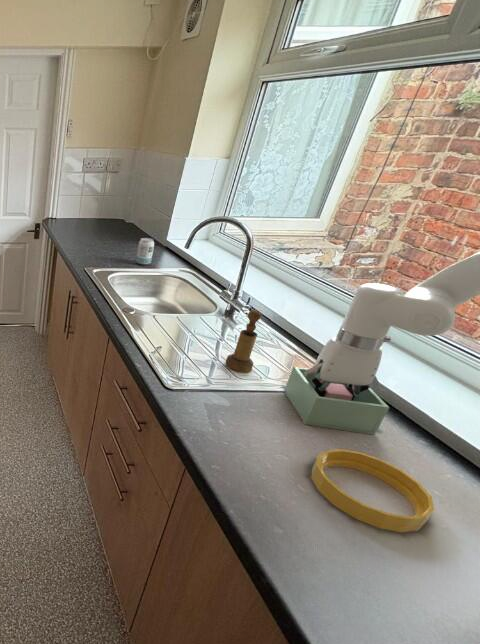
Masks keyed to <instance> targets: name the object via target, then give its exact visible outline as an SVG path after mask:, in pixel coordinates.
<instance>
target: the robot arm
mask: <svg viewBox="0 0 480 644" xmlns="http://www.w3.org/2000/svg"><path fill="white" fill-rule="evenodd" d="M478 296H480V251H478V252H475V253H474V254H472V255H470V256H468V257H465V258H464V259H462V260H459V261H457V262H455V263H453V264H451V265H449V266H447V267H445V268H443V269H442V270H440V271H438V272H437V273H434V274H433V275H432V276H430V277H428V278H427V279H425V280H423V281H421V282H420V283H419V284H416V285H415V286H414V287H412V288H411V289H409V290H407V292H406V293H404V291H402V289H400V288H398V287H396V286H393V285H392V286H391V285H388V284H384V283H377V282H370V283H369V282H367V283H364V284H361V285H360V286H358V287H357V289H356V291H355V293H354V295H353V298H352V300H351V303H350V304H349V306H348V310H347V311H346V313H345V316H344V319H343V320H342V322H341V326H340V327H339V330H338V332H337V334H336V336H331V337H330V338H329V340H328V341H327V342H326V343H325V345H324V346H323V348H322V349H321V351H320V352H319V354H318V356H317V358H316V359H315V362H314V364H313V366H312V367H310V369H309V370H307V371H305V372H304V374H305V376H306V377H307V378H308V379H310V380H311V381H312V382H313V383H314V384H315V385H316V387H315V389H314V390H315V391H316V393H317V394H318V395H319V397H324V396H325V394H326V391H325V389H326V388H327V387H328V386H329V385H330V383H331V382H338V383H345V384H348V385H347V388H346V389H347V390H348V391H349V392H350V393H351V394H352V396H353V397H352V399H351V401H353V399H354V397H355V396H357V395H359V394H360V392H362V391H365V390H367V389H368V388H371V389H372V388H375V387H379V385H380V382H379V380H378V378H377V376H376V374H377V373H378V371H379V367H380V365H381V361H382V356H383V347H382V346H383V344H384V343H389V342H390V341H391V339H392V337H391V336H389V335H387V334H388V332H389V331H390V328H391V326H392V327H394V328H397V329H400V330H402V331H405V332H408V333H410V334H414V335H417V336H418V335H419V336H424V337H425V336H426V337H431V336H433V337H434V336H438V335H442V334H445V333H446V332H448V331H450V329H451V328H453V326H454V325H455V322H456V313H455V308H457V307H459V306H461V305H463V304H465V303H466V302H468V301H470V300H472V299H474V298H476V297H478ZM319 372H320V374H321V375H320V376H319V377H318V378H316V376H315V375H316V374H318V373H319Z"/></svg>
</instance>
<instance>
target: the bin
mask: <svg viewBox="0 0 480 644" xmlns="http://www.w3.org/2000/svg"><path fill="white" fill-rule="evenodd" d="M310 368H311V367H310ZM310 368H309V367H300V366H293V367H292V370H291V372H290V374H289V377H288V380H287V382H286V385H285V387H284V390H283V392H284V394H285V395H286V397H287V398H288V400H289V402H290V403H291V404H292V406H293V408H294V409H295V412H296V413H297V414H298V416H299V417H300V419H301V420H302V422H303V423H304V425H306V426H314V427H321V428H326V429H327V428H328V429H333V430H341V431H347V432H352V433H353V432H354V433H359V434H367V435H373V436H374V435H376V434H377V431H378V430H379V428H380V426H381V424H382V422H383V421H384V420H385V419H384V418H385V417H386V415H387V413H388V411H389V409H390V407H389V405H388V404H387V403H386V402H385V401H384V400H383V399H382V398H381V397H380V396H379V395H378V394H377V393H376V392H375V391H374V390H373V389H372V388H368V389H367V390H365V391H362V392H360V394H359V395H357V396H355V397H354V399H353V401H349V400H342V399H334V398H327V397H319V395H318V394H317V393H316V391H315V390H314V389H315V387H316V385H315V384H314V383H313V382H312V381H311V380H310V379H308V378H307V377H306V376H305V374H304V372H305V371H307V370H309V369H310ZM320 375H321V374H320V372H319V373H318V374H316V375H315V376H316V378H318V377H319V376H320ZM331 383H334V384H342V385H344V386H345V388H347V385H348V384H345V383H338V382H331Z"/></svg>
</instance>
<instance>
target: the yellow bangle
mask: <svg viewBox="0 0 480 644" xmlns="http://www.w3.org/2000/svg"><path fill="white" fill-rule="evenodd" d="M334 467H343V468H349V469H355V470H357V471H360V472H364V473H366V474H369V475H371V476H374V477H376V478H377V479H379V480H381V481H383V482H385V483H386V484H388V485H390V486H391V487H393V488H394V489H395V490H396V491H398V492H399V493H400V494H401V495H403V496H404V498H405V499H406V500H407V501H408V503H409V504H410V505H411V506H412V508H413V513H414V514H413V515H410V516H406V515H402V514H401V515H400V514H396V513H390V512H386V511H383V510H380V509H378V508H376V507H373V506H370V505H367V504H365V503H363V502H361V501H360V500H358V499H356V498H354V497H353V496H352V495H349V494H347V493H346V492H344V491H342V489H340V488H339V487H338V486H337V485H336V484H334V482H332V481H331V480H330V479H329V478H328V476H327V474H326V473H325V471H324V470H326V469H327V468H334ZM310 478H311V480H312V482H313V485H314V486H315V487H316V489H317V491H318V492H319V493H320V494H321V495H322V496H323V497H324V498H325V499H327V500H328V501H329V502H330V503H331V504H332V506H335V507H336V508H337V509H339V510H341V511H342V512H344V513H346V514H347V515H349V516H350V517H352V518H354V519H356V520H358V521H361V522H362V523H366V524H368V525H371V526H373V527H375V528H378V529H383V530H387V531H393V532H397V533H407V532H408V533H409V532H418V531H419V530H420V529H421V528H422V527H423V526H424V525H425V524H426V523H427V522H428V520H429V518H430V517H431V515H432V514H433V513H434V511H435V506H434V501H433V497H432V495H431V494H430V493H429V492H428V491H427V489H425V487H423V485H422V484H421V483H420V482H419V481H417V480H416V479H415V478H414V477H412V476H410V475H409V474H407V473H406V471H404V470H402V469H401V468H399V467H396V466H395V465H393V464H391V463H389V462H387V461H386V460H383V459H381V458H377V457H376V456H375V457H374V456H372V455H368V454H366V453H363V452H360V451H354V450H348V449H343V448H342V449H341V448H337V449H328V450H325V451H324V452H322V453H320V454H319V455H318V456H317V457H316V459H315V462H314V464H313V465H312V468H311V477H310Z"/></svg>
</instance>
